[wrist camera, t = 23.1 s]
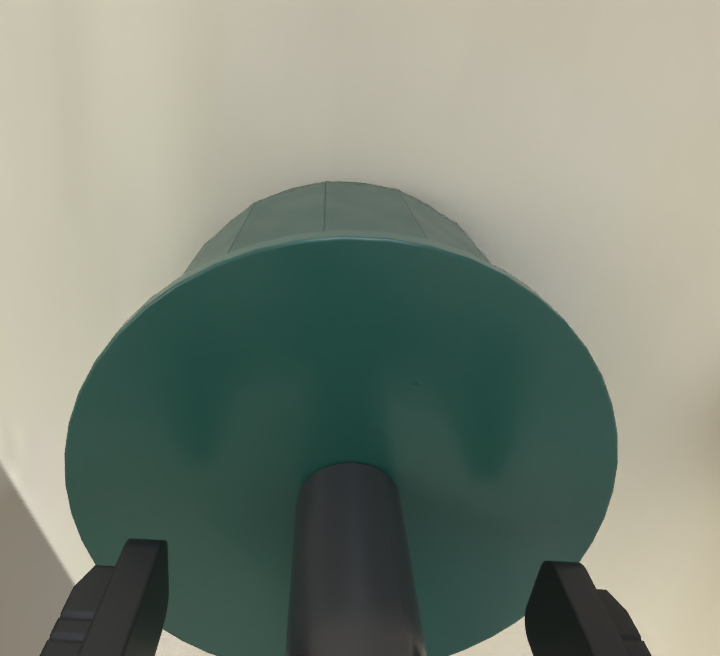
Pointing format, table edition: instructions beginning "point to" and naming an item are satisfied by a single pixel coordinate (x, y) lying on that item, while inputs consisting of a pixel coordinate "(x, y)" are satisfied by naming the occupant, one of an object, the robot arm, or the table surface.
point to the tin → (334, 218)
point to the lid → (344, 447)
